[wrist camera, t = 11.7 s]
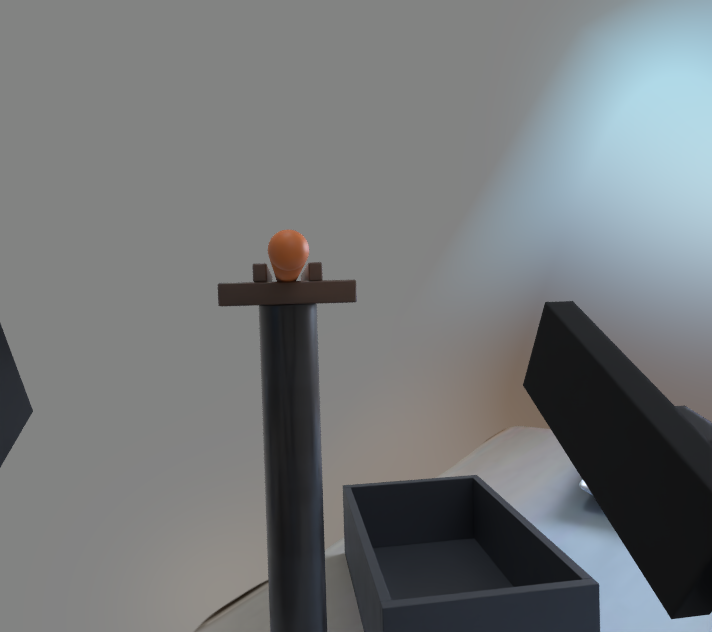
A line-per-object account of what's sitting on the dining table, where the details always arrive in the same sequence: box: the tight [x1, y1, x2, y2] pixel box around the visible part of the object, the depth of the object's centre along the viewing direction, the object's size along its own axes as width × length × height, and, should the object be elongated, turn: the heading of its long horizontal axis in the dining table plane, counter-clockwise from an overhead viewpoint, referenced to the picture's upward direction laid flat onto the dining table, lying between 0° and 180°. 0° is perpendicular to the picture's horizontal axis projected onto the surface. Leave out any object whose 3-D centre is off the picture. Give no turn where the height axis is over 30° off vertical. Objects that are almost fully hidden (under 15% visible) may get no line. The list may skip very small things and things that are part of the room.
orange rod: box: [268, 230, 309, 282], centre depth 25 cm, size 20×1×1 cm, turn 8°
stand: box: [218, 262, 357, 632], centre depth 28 cm, size 10×8×30 cm
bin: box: [343, 475, 600, 632], centre depth 47 cm, size 24×16×8 cm, turn 8°
